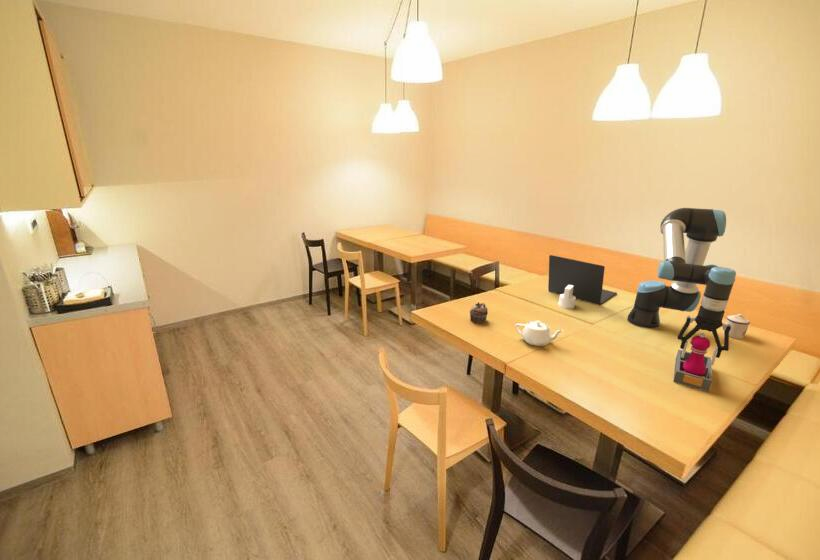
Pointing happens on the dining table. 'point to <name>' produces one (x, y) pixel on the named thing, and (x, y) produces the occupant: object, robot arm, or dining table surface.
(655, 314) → the robot arm
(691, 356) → the pepper mill
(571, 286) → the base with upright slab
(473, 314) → the cupcake
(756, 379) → the dining table surface
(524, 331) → the teapot
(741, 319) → the teacup with lid
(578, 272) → the laptop
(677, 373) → the rack
